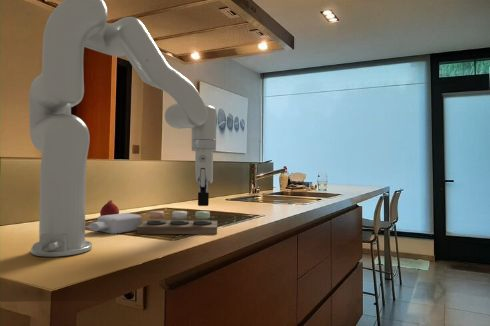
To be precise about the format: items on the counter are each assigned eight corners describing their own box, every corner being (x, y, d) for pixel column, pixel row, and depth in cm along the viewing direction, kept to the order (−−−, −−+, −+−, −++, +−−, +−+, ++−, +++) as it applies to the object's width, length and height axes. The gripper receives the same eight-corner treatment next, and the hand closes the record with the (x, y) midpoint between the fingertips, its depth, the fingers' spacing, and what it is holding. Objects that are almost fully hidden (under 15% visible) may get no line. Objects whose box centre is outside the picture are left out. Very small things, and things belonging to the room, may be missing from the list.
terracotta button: (162, 218, 110) (162, 212, 110) (147, 218, 110) (147, 212, 110) (164, 216, 114) (165, 210, 114) (150, 216, 114) (150, 210, 114)
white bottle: (78, 234, 105) (123, 227, 117) (95, 238, 100) (141, 230, 112) (78, 217, 105) (123, 212, 117) (96, 221, 100) (141, 215, 112)
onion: (112, 226, 117) (112, 201, 117) (96, 225, 119) (96, 200, 119) (122, 223, 123) (122, 199, 123) (106, 222, 124) (107, 198, 124)
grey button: (186, 218, 110) (186, 212, 110) (171, 218, 110) (171, 212, 110) (187, 216, 115) (187, 211, 115) (173, 216, 114) (173, 210, 114)
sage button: (209, 219, 111) (209, 213, 111) (194, 219, 111) (195, 213, 111) (209, 216, 115) (210, 211, 115) (195, 216, 115) (195, 211, 115)
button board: (216, 234, 107) (217, 224, 107) (136, 233, 106) (137, 224, 106) (217, 226, 119) (217, 218, 119) (145, 226, 118) (145, 218, 118)
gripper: (215, 145, 106) (215, 208, 106) (216, 147, 121) (215, 202, 121) (189, 145, 105) (188, 208, 105) (193, 146, 120) (192, 202, 120)
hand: (203, 205), depth 113 cm, fingers closed
